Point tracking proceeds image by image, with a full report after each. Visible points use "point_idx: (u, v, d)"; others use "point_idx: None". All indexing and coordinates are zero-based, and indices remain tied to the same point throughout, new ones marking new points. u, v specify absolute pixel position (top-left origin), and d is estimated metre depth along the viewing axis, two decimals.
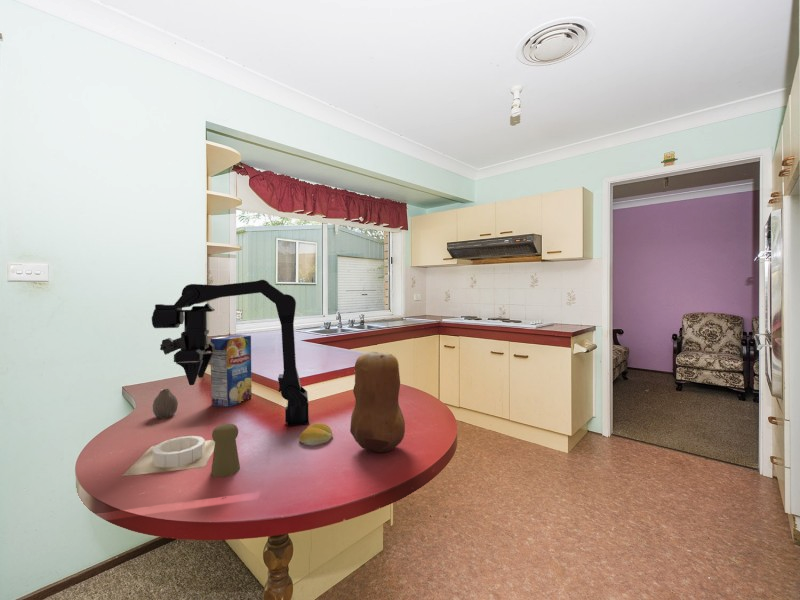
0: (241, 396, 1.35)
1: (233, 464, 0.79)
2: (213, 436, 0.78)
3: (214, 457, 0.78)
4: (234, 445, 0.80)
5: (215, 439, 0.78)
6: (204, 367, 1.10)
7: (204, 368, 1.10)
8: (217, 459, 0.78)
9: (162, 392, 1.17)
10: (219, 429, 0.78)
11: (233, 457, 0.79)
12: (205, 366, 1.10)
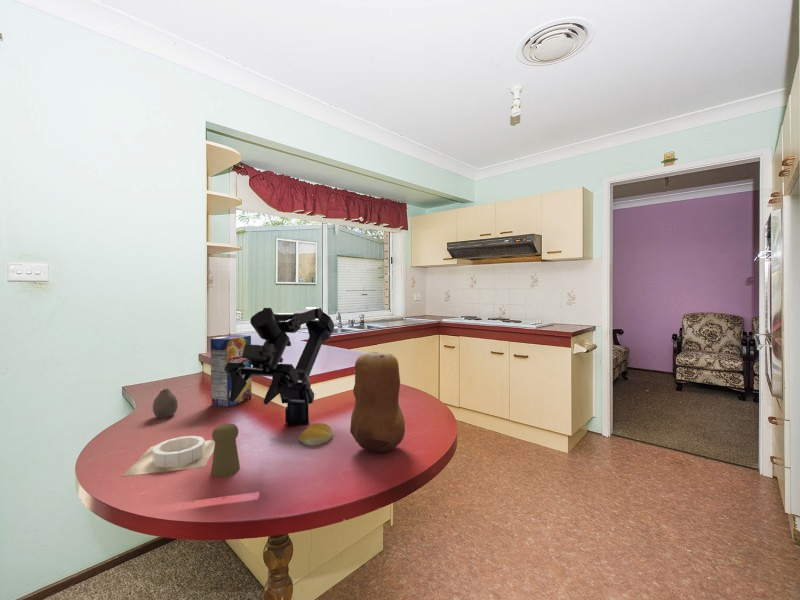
0: (241, 396, 1.35)
1: (233, 464, 0.79)
2: (213, 436, 0.78)
3: (214, 457, 0.78)
4: (234, 445, 0.80)
5: (215, 439, 0.78)
6: (238, 392, 0.92)
7: (238, 393, 0.92)
8: (218, 459, 0.78)
9: (162, 392, 1.17)
10: (219, 429, 0.78)
11: (233, 457, 0.79)
12: (239, 392, 0.93)
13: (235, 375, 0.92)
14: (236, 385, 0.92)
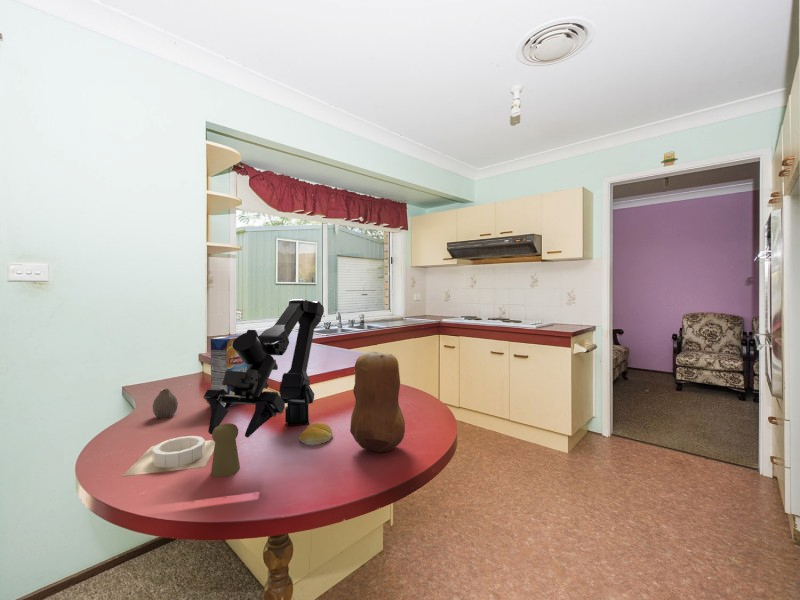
0: None
1: (233, 464, 0.79)
2: (213, 436, 0.78)
3: (214, 457, 0.78)
4: (234, 445, 0.80)
5: (215, 439, 0.78)
6: (218, 423, 0.85)
7: (218, 424, 0.85)
8: (218, 459, 0.78)
9: (162, 392, 1.17)
10: (219, 429, 0.78)
11: (233, 457, 0.79)
12: (219, 422, 0.85)
13: (215, 404, 0.85)
14: (216, 414, 0.84)
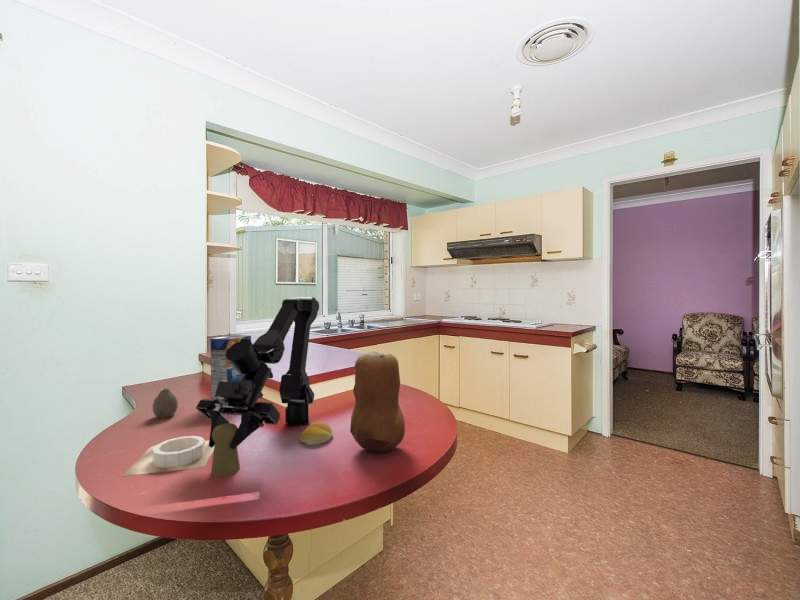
0: None
1: (233, 464, 0.79)
2: (213, 436, 0.78)
3: (214, 457, 0.78)
4: None
5: (215, 439, 0.78)
6: None
7: None
8: (217, 459, 0.78)
9: (162, 392, 1.17)
10: (219, 429, 0.78)
11: (233, 457, 0.79)
12: None
13: (215, 416, 0.82)
14: None
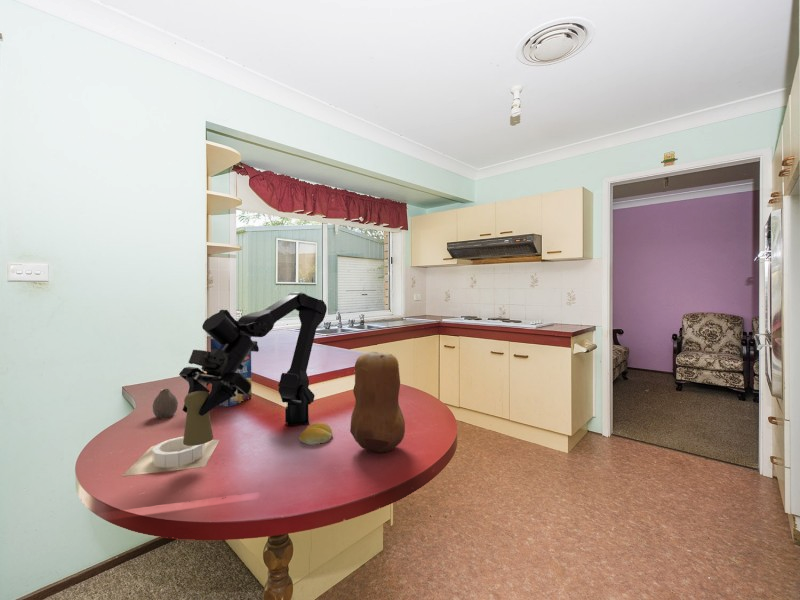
0: (241, 396, 1.35)
1: (203, 430, 0.81)
2: (184, 401, 0.81)
3: (186, 422, 0.81)
4: None
5: (185, 404, 0.81)
6: None
7: None
8: (187, 424, 0.80)
9: (162, 392, 1.17)
10: (189, 395, 0.81)
11: (202, 423, 0.81)
12: None
13: (192, 383, 0.85)
14: None
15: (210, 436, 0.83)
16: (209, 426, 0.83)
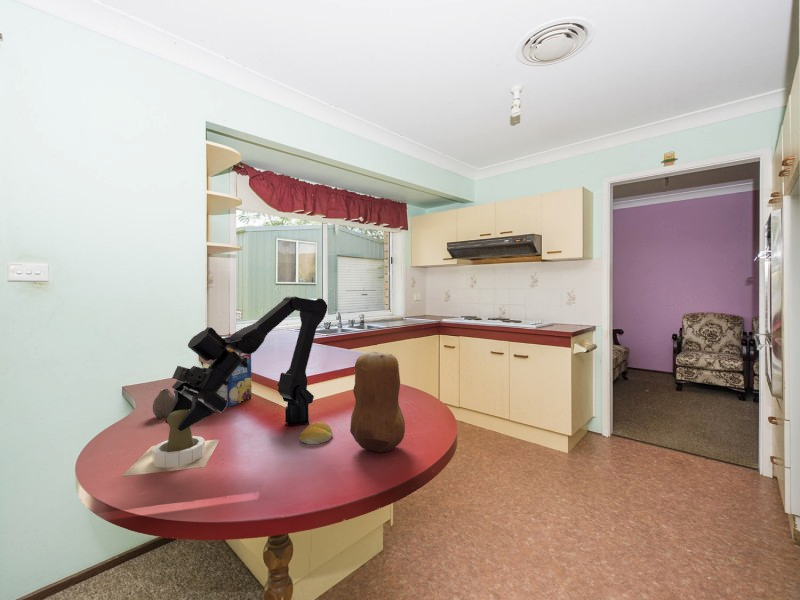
0: (241, 396, 1.35)
1: (181, 448, 0.85)
2: (167, 419, 0.86)
3: None
4: (184, 431, 0.86)
5: (167, 422, 0.85)
6: None
7: None
8: (168, 441, 0.85)
9: (162, 392, 1.17)
10: (171, 413, 0.86)
11: (181, 441, 0.85)
12: None
13: (177, 396, 0.90)
14: (176, 406, 0.90)
15: None
16: (189, 444, 0.86)
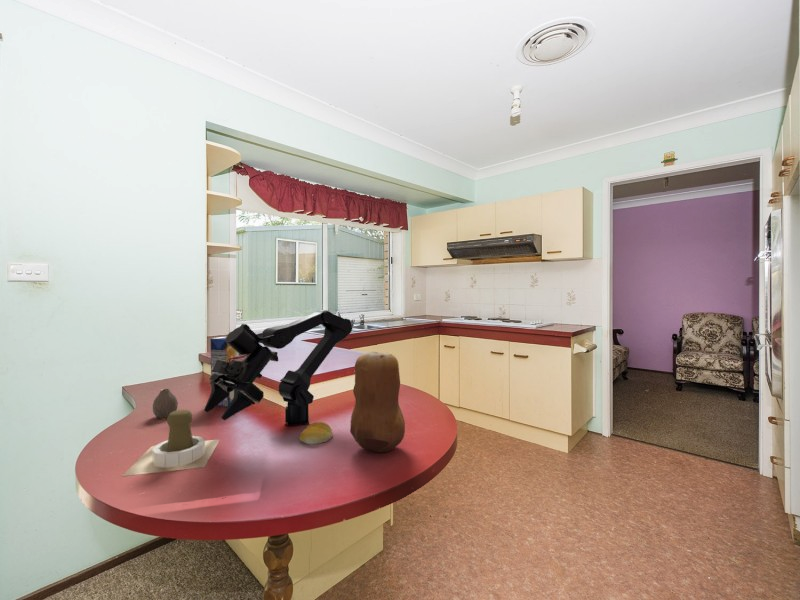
0: None
1: (181, 448, 0.85)
2: (167, 419, 0.86)
3: None
4: (184, 431, 0.86)
5: (167, 422, 0.85)
6: (216, 403, 0.98)
7: (215, 404, 0.98)
8: (168, 441, 0.85)
9: (162, 392, 1.17)
10: (171, 413, 0.86)
11: (181, 441, 0.85)
12: (217, 403, 0.99)
13: (213, 387, 0.98)
14: (213, 396, 0.98)
15: None
16: (189, 444, 0.86)
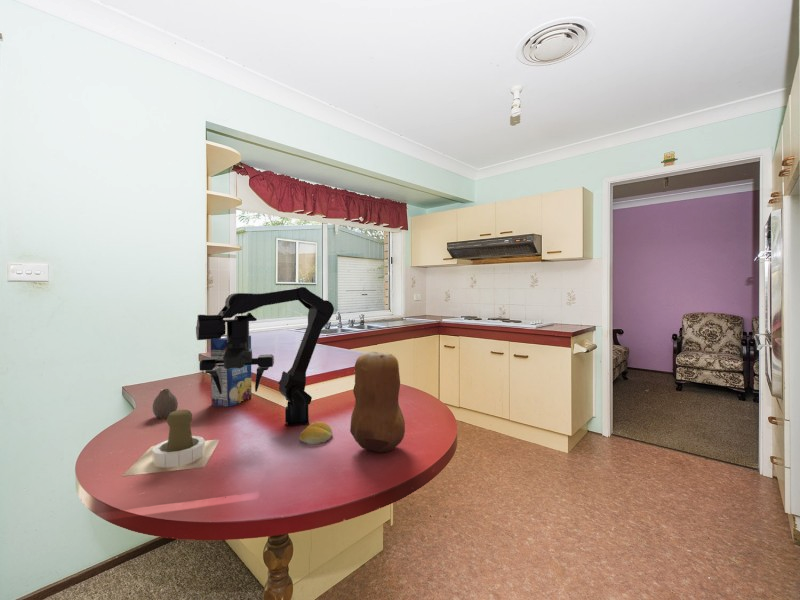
0: (241, 396, 1.35)
1: (181, 448, 0.85)
2: (167, 419, 0.86)
3: None
4: (184, 431, 0.86)
5: (167, 422, 0.85)
6: (221, 382, 1.03)
7: (221, 383, 1.03)
8: (168, 441, 0.85)
9: (162, 392, 1.17)
10: (171, 413, 0.86)
11: (181, 441, 0.85)
12: (221, 380, 1.03)
13: (216, 374, 0.99)
14: (219, 379, 1.01)
15: None
16: (189, 444, 0.86)
